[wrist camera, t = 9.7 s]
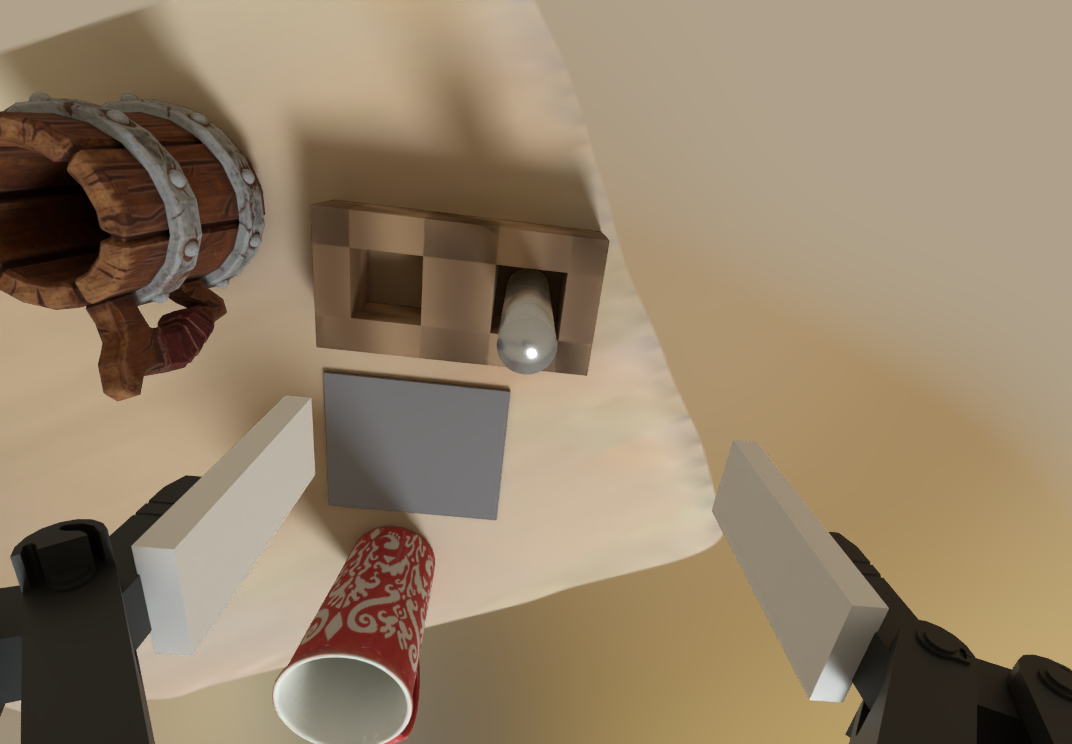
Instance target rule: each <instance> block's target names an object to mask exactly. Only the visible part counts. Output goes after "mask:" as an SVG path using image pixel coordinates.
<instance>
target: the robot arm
mask: <svg viewBox="0 0 1072 744" xmlns="http://www.w3.org/2000/svg"><path fill="white" fill-rule="evenodd" d="M314 476H315V460H314V440H313V419H312V399H311V398H309V397H299V396H289V395H285V396H284V397H283V398H282V399H281V400H280V401H279V402H278V403H277V404H276V405H275V406H274V407H273V408H272V409H271V410H270V411H269V412H268V413H267V414H266V415H265V416H264V417H263V418H262V419H261V420H260V421H259V422H258V423H257V424H256V425H255V426H254V427H253V428H252V429H251V430H250V431H248V432H247V433H246V434H245V435H244V436H243V437H242V438H241V439H240V440H239V441H238V442H237V443H236V444H235V445H234V446H233V447H232V448H231V449H230V450H229V451H228V452H227V453H226V454H225V455H224V456H223V457H222V458H221V459H220V460H219V461H218V462H217V463H216V464H215V465H214V466H213V467H212V468H211V469H210V470H209V471H208V472H207V473H205V474H204V475H203V476H202V477H198V476H187V475H186V476H184V477H182V478H180V479H178V480H176V481H175V482H173V483H171V484H169V485H167V486H165V487H164V488H162V489H161V490H160V491H159V492H158V493H157V494H156V495H155V496H154V497H152V498H151V499H150V500H149V503H148V504H145V505H144V506H142V507H141V508H140V509H139V510H138V511H137V512H136V515H133V516H131V517H130V518H129V519H128V520H127V521H126V522H125V523H124V524H123V525H121V526H120V527H119V528H118V529H117V530H116V531H115V532H114V533H113V534H111V535H110V536H109V533H108V529H107V528H106V527H105V525H104V524H103V523H101V522H98V521H95V520H92V519H76V520H71V521H65V522H60V523H57V524H54V525H51V526H48V527H45V528H42V529H40V530H38V531H36V532H35V533H33V534H31V535H29V536H27V537H26V538H24V539H23V540H22V541H21V542H20V543H19V544H18V545H17V546H15V547H14V550H13V552H12V554H11V556H10V557H11V560H12V563H13V566H14V569H15V572H16V575H17V578H18V582H19V585H20V586H14V587H7V588H0V716H1V713H2V711H3V708H4V706H5V703H9V702H14V701H19V700H21V744H155V742H154V737H153V732H152V727H151V722H150V717H149V711H148V706H147V701H146V696H145V691H144V686H143V681H142V676H141V671H140V665H139V660H138V656H137V652H136V649H137V648H138V647H139V646H140V644H141V643H142V642H143V641H144V639H145V638H146V637H147V636H148V634H149V633H150V634H151V639H152V643H153V648H154V652H155V653H161V654H175V655H189V656H193V655H194V654H195V652H196V651H197V649H198V648H199V646H200V645H201V643H202V642H203V640H204V639H205V637H206V636H207V635H208V633H209V632H210V630H211V629H212V627H213V626H214V624H215V623H216V621H217V620H218V618H219V617H220V615H221V614H222V612H223V611H224V609H225V608H226V606H227V605H228V603H229V602H230V600H231V599H232V597H233V596H234V594H235V593H236V591H237V590H238V589H239V587H240V586H241V584H242V583H243V581H244V580H245V578H246V577H247V575H248V574H249V572H250V571H251V569H252V568H253V566H254V565H255V563H256V562H257V560H258V559H259V557H260V556H261V554H262V553H263V551H264V550H265V548H266V547H267V546H268V544H269V543H270V541H271V540H272V538H273V537H274V535H275V534H276V532H277V531H278V529H279V528H280V526H281V525H282V523H283V522H284V520H285V519H286V517H287V516H288V514H289V513H290V511H291V510H292V508H293V507H294V505H295V504H296V503H297V501H298V500H299V498H300V497H301V495H302V494H303V492H304V491H305V489H306V488H307V486H308V485H309V483H310V482H311V480H312V479H313V477H314ZM712 512H713V514H714V516H715V518H716V520H717V522H718V524H719V526H720V528H721V530H722V532H723V534H724V535H725V537H726V539H727V541H728V543H729V545H730V547H731V549H732V551H733V553H734V555H735V556H736V559H737V561H738V563H739V564H740V567H741V568H742V570H743V572H744V574H745V576H746V578H747V580H748V582H749V584H750V586H751V588H752V590H753V592H754V594H755V596H756V598H757V600H758V601H759V603H760V605H761V607H762V609H763V611H764V613H765V615H766V617H767V619H768V621H769V623H770V625H771V627H772V628H773V631H774V632H775V634H776V636H777V638H778V640H779V642H780V644H781V646H782V648H783V650H784V652H785V654H786V656H787V657H788V660H789V662H790V664H791V666H792V667H793V669H794V671H795V673H796V675H797V677H798V679H799V681H800V683H801V685H802V687H803V689H804V691H805V693H806V695H807V697H808V698H809V700H816V701H831V702H843V701H844V699H845V697H846V695H847V693H848V691H849V689H850V687H851V685H852V683H853V684H854V685H855V687H856V689H857V690H858V692H859V693H860V695H861V697H862V698H863V701H862V703H861V705H860V707H859V709H858V711H857V713H856V715H855V717H854V718H853V720H852V723H851V724H850V727H849V728H848V730H847V732H846V735H847V736H849V737H850V742H849V744H1072V671H1071V669H1069V668H1067V667H1066V666H1064V665H1061V664H1059V663H1057V662H1054V661H1052V660H1050V659H1048V658H1044V657H1040V656H1037V655H1023V656H1022V657H1021V658H1020V659H1019V660H1018V662H1017V663H1016V664H1015V666H1014V667H1013V669H1012V670H1011V669H1008V668H1005V667H1002V666H999V665H996V664H992V663H989V662H986V661H983V660H980V659H977V658H975V656H974V655H973V654H972V652H971V651H970V650H969V648H968V647H967V646H966V645H965V644H964V643H963V642H961V641H960V640H959V639H958V638H957V637H956V636H954V635H953V634H951V633H950V632H948V631H946V630H945V629H943V628H941V627H939V626H937V625H934V624H932V623H929V622H927V621H922V620H918V619H917V617H916V616H915V615H914V614H913V613H912V611H911V610H910V609H909V608H908V607H907V606H906V604H905V603H904V602H903V601H902V600H901V598H900V597H899V596H898V595H897V594H896V592H895V591H894V590H893V589H892V588H891V586H890V585H889V584H888V583H887V582H886V581H885V579H884V578H881V576H880V573H879V572H878V571H877V570H876V569H875V567H874V566H873V565H870V561H869V560H868V559H867V558H866V557H865V556H864V554H863V553H862V552H861V551H860V550H859V548H858V547H857V546H855V545H854V544H853V543H851V542H850V541H849V540H847V539H846V538H845V537H843V536H842V535H841V534H839V533H836V532H828V531H827V530H826V529H825V527H824V526H823V525H822V524H821V522H820V521H819V520H818V518H817V517H816V516H815V515H814V513H813V512H812V511H811V510H810V509H809V507H808V506H807V505H806V503H805V502H804V501H803V500H802V498H801V497H800V496H799V495H798V493H797V492H796V491H795V490H794V488H793V487H792V486H791V485H790V483H789V482H788V481H787V480H786V478H785V477H784V476H783V475H782V473H781V472H780V471H779V470H778V468H777V467H776V466H775V465H774V463H773V462H772V461H771V460H770V458H769V457H768V456H767V455H766V453H765V452H764V451H763V449H762V448H761V447H760V446H759V444H758V443H757V442H753V441H743V440H733V441H732V445H731V448H730V451H729V455H728V458H727V462H726V465H725V468H724V471H723V475H722V478H721V482H720V485H719V489H718V492H717V495H716V499H715V502H714V505H713V509H712Z"/></svg>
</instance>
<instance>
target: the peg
mask: <svg viewBox="0 0 1072 744" xmlns="http://www.w3.org/2000/svg"><path fill="white" fill-rule="evenodd" d="M556 351H557V341H556V334H555V327H554V320H553V313H552V306H551V299H550V292H549V285H548V282H547V280H546V278H545V276H544V275H543V274H542V273H540V272H539V271H537V270H535V269H530V268H525V269H521V270H518V271H516V272H515V273H514V274H513V275H512V276H511V277H510V279H509V281H508V283H507V288H506V294H505V299H504V305H503V311H502V317H501V322H500V328H499V334H498V339H497V352H498V355H499V358H500V359H501V361H502V362H503V364H504V365H505V366H506V367H507V368H509V369H510V370H512V371H514V372H517V373H520V374H534V373H537V372H540V371H542V370H544V369H545V368H546V367H548V366H549V365H550V364H551V362H552V361H553V359H554V357H555V355H556Z"/></svg>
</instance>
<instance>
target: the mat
mask: <svg viewBox="0 0 1072 744" xmlns="http://www.w3.org/2000/svg"><path fill="white" fill-rule="evenodd" d="M324 394H325V420H326V445H327V471H328V496H329V505H332V506H343V507H355V508H366V509H377V510H388V511H399V512H410V513H421V514H432V515H443V516H454V517H465V518H476V519H487V520H496V519H497V510H498V501H499V491H500V482H501V473H502V464H503V455H504V445H505V436H506V427H507V418H508V408H509V399H510V390H500V389H491V388H481V387H471V386H462V385H452V384H442V383H433V382H423V381H413V380H404V379H394V378H384V377H375V376H365V375H355V374H345V373H336V372H326V371H325V372H324Z"/></svg>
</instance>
